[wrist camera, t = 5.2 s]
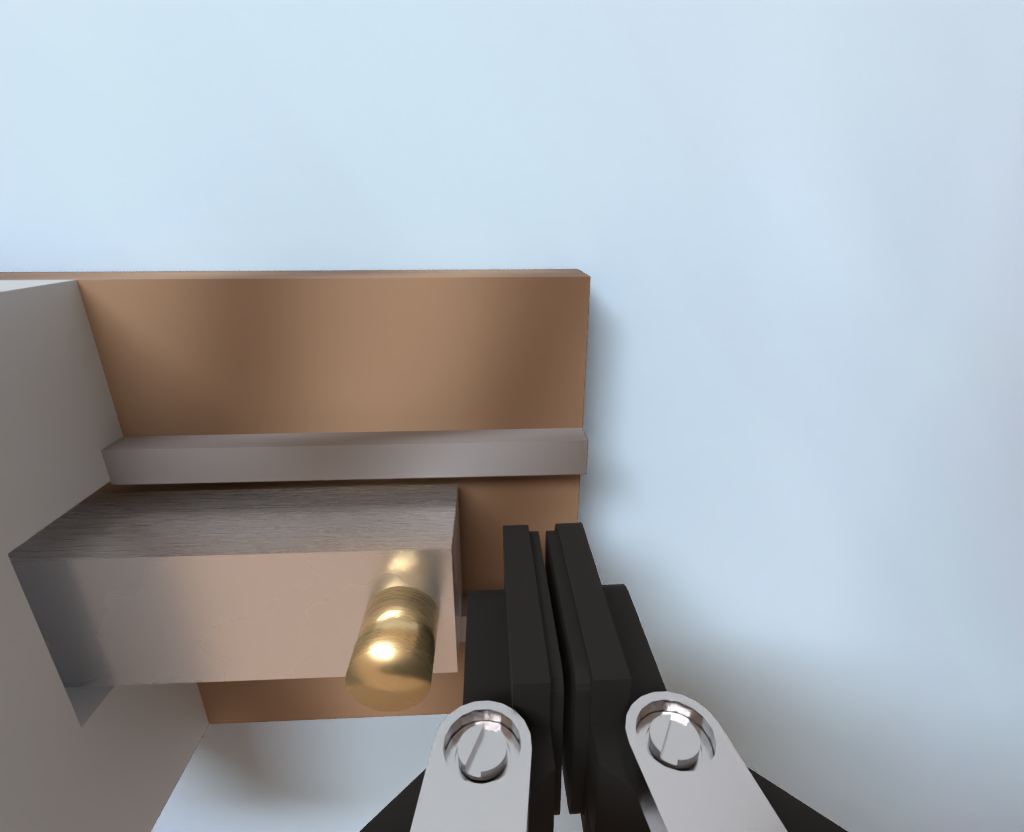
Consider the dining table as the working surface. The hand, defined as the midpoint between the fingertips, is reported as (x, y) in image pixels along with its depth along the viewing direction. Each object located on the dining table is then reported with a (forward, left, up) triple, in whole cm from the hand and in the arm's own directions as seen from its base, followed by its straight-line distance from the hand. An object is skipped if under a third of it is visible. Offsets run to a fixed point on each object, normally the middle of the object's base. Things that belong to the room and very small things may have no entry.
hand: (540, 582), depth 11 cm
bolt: (+6, 0, -1) cm, 6 cm away
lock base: (+6, 0, -3) cm, 7 cm away
